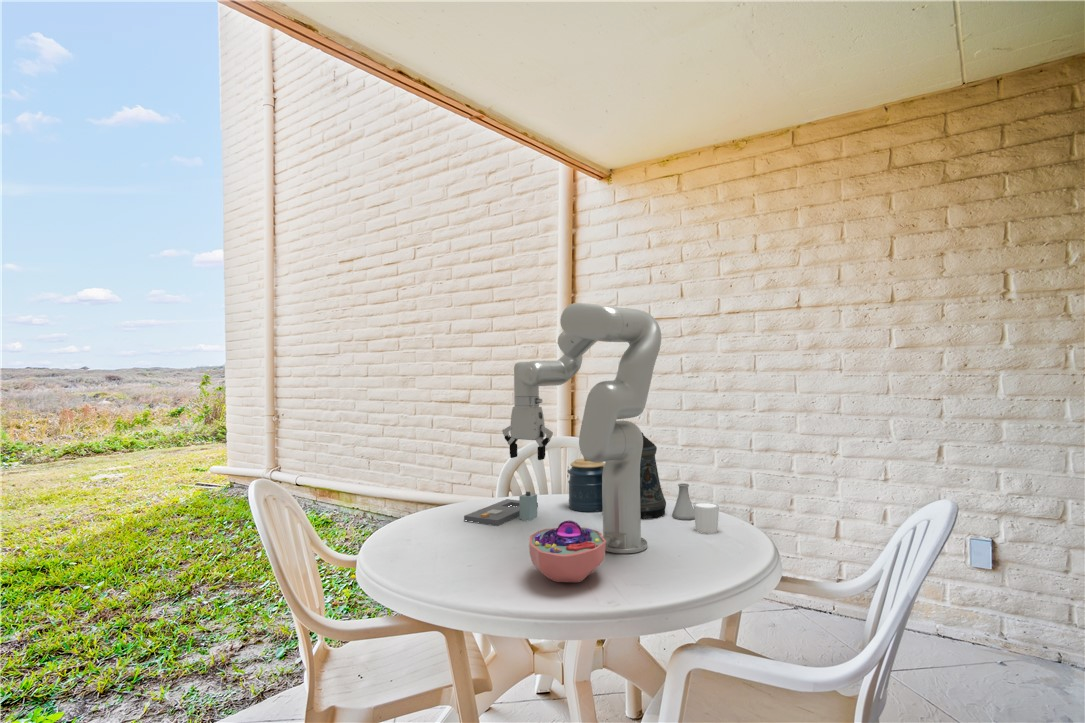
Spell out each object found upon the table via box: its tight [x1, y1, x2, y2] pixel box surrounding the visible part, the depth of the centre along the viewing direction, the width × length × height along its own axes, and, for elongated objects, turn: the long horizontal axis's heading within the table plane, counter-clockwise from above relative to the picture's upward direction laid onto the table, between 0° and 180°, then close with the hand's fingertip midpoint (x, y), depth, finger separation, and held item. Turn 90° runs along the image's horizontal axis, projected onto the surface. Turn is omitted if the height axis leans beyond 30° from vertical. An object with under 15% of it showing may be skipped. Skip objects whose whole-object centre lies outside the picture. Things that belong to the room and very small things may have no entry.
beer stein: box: [640, 431, 667, 520], centre depth 171 cm, size 16×19×25 cm
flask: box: [671, 482, 695, 521], centre depth 166 cm, size 7×7×10 cm
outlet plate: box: [463, 498, 539, 527], centre depth 174 cm, size 24×12×2 cm, turn 151°
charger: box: [518, 491, 538, 522], centre depth 168 cm, size 4×4×8 cm
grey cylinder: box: [692, 502, 720, 534], centre depth 152 cm, size 7×7×7 cm
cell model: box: [528, 520, 606, 583], centre depth 119 cm, size 17×20×11 cm
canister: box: [567, 457, 605, 513], centre depth 180 cm, size 13×13×18 cm
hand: (527, 458), depth 168 cm, fingers open, 9 cm apart
